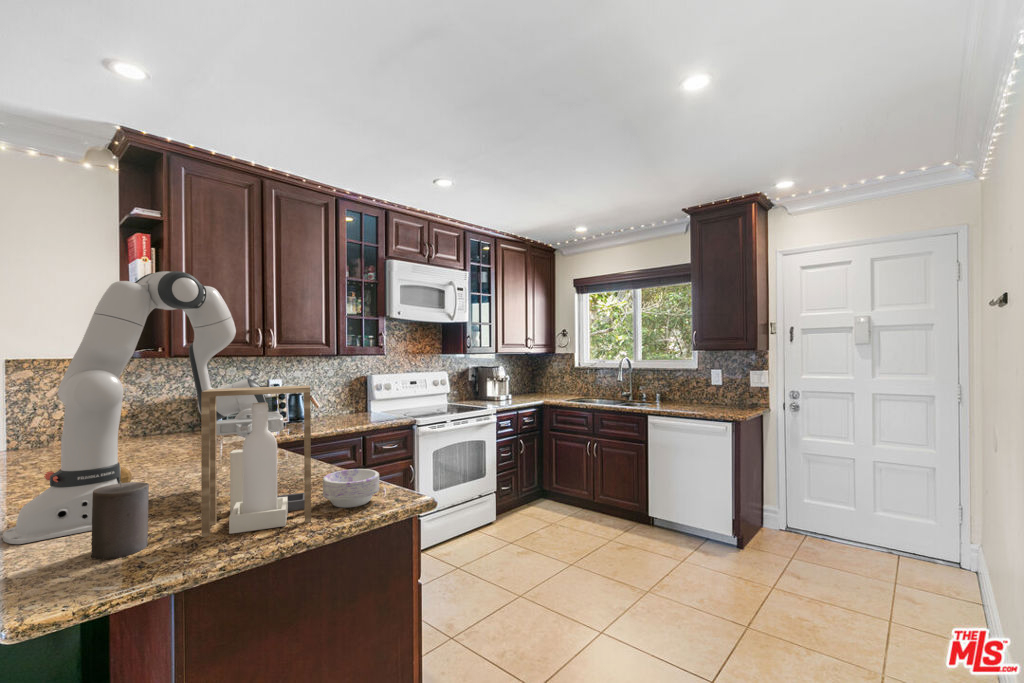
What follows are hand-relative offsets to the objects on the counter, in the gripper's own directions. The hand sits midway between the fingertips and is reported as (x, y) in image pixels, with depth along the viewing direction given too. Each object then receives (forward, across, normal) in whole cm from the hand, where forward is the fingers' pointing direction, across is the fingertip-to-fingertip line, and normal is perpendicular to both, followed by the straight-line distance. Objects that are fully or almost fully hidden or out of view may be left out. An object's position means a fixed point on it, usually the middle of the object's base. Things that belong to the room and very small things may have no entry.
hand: (244, 429), depth 139 cm
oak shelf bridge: (+22, +6, +21) cm, 31 cm away
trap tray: (+11, +10, +21) cm, 26 cm away
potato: (-32, -41, +21) cm, 56 cm away
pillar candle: (+28, -21, +21) cm, 41 cm away
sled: (+17, +5, +21) cm, 27 cm away
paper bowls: (+15, +28, +21) cm, 38 cm away
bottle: (+22, +6, +21) cm, 31 cm away
